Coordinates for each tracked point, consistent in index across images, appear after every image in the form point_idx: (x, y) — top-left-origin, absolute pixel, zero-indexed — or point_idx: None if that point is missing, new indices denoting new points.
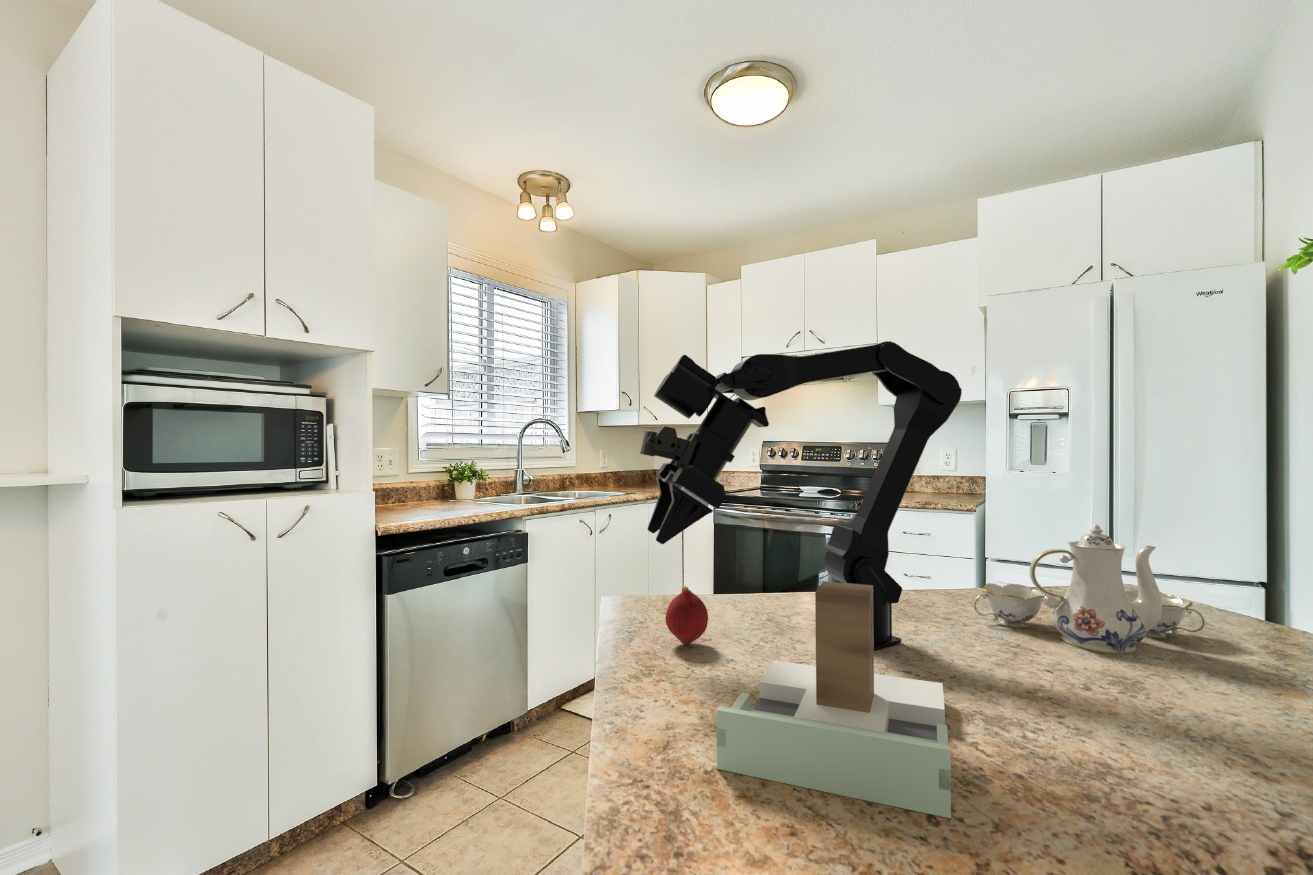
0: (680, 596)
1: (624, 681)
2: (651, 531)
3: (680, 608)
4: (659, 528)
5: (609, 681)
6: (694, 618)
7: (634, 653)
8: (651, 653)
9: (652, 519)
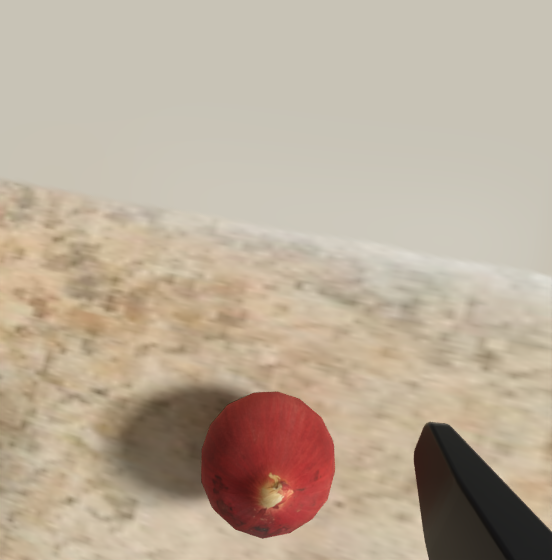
0: (257, 462)
1: (56, 229)
2: (417, 444)
3: (221, 441)
4: (422, 513)
5: (65, 196)
6: (201, 473)
7: (233, 286)
8: (222, 328)
9: (458, 488)
